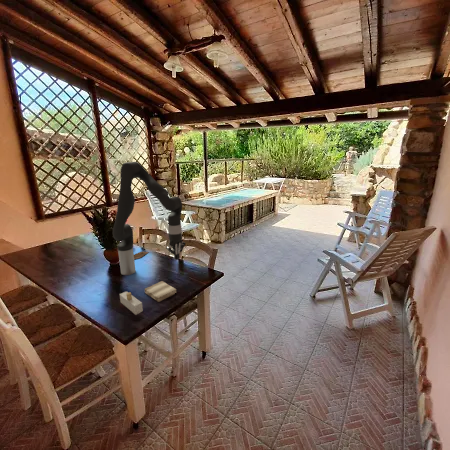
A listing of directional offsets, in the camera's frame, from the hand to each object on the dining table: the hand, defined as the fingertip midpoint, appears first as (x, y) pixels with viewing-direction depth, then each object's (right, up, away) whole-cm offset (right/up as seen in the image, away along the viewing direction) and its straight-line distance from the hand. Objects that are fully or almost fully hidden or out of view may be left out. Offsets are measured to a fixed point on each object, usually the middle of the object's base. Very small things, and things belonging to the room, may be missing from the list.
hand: (177, 259), depth 149 cm
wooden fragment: (-42, -5, +44) cm, 61 cm away
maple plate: (-9, -19, -4) cm, 22 cm away
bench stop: (-21, -23, -17) cm, 35 cm away
